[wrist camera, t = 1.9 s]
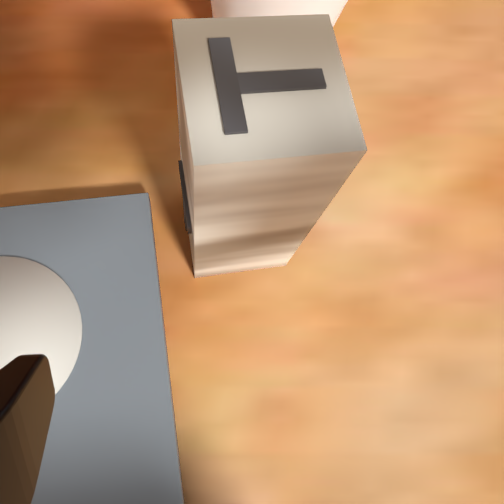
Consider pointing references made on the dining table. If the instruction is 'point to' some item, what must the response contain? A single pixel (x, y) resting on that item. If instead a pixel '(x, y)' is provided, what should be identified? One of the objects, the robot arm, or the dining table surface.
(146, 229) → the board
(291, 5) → the foam cup
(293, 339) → the dining table surface
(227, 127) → the letter block
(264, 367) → the dining table surface
